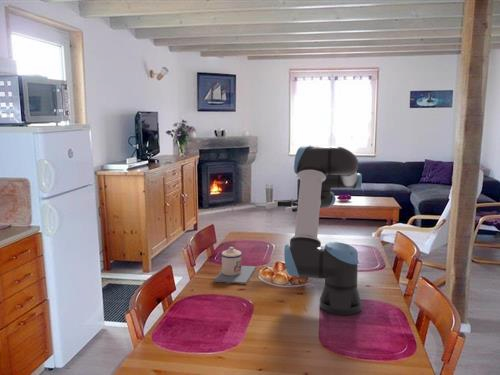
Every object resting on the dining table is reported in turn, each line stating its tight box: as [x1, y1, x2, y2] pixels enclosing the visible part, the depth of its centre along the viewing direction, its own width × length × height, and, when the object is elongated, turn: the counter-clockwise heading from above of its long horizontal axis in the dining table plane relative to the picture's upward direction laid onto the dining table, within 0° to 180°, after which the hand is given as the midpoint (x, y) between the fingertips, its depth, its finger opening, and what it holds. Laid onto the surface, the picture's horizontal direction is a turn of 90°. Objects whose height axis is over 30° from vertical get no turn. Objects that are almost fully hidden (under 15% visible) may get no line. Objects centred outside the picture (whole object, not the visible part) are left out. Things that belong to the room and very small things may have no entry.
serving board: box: [213, 265, 257, 285], centre depth 195 cm, size 20×14×1 cm
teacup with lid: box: [220, 246, 243, 276], centre depth 196 cm, size 12×9×12 cm
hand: (275, 208), depth 200 cm, fingers open, 13 cm apart
